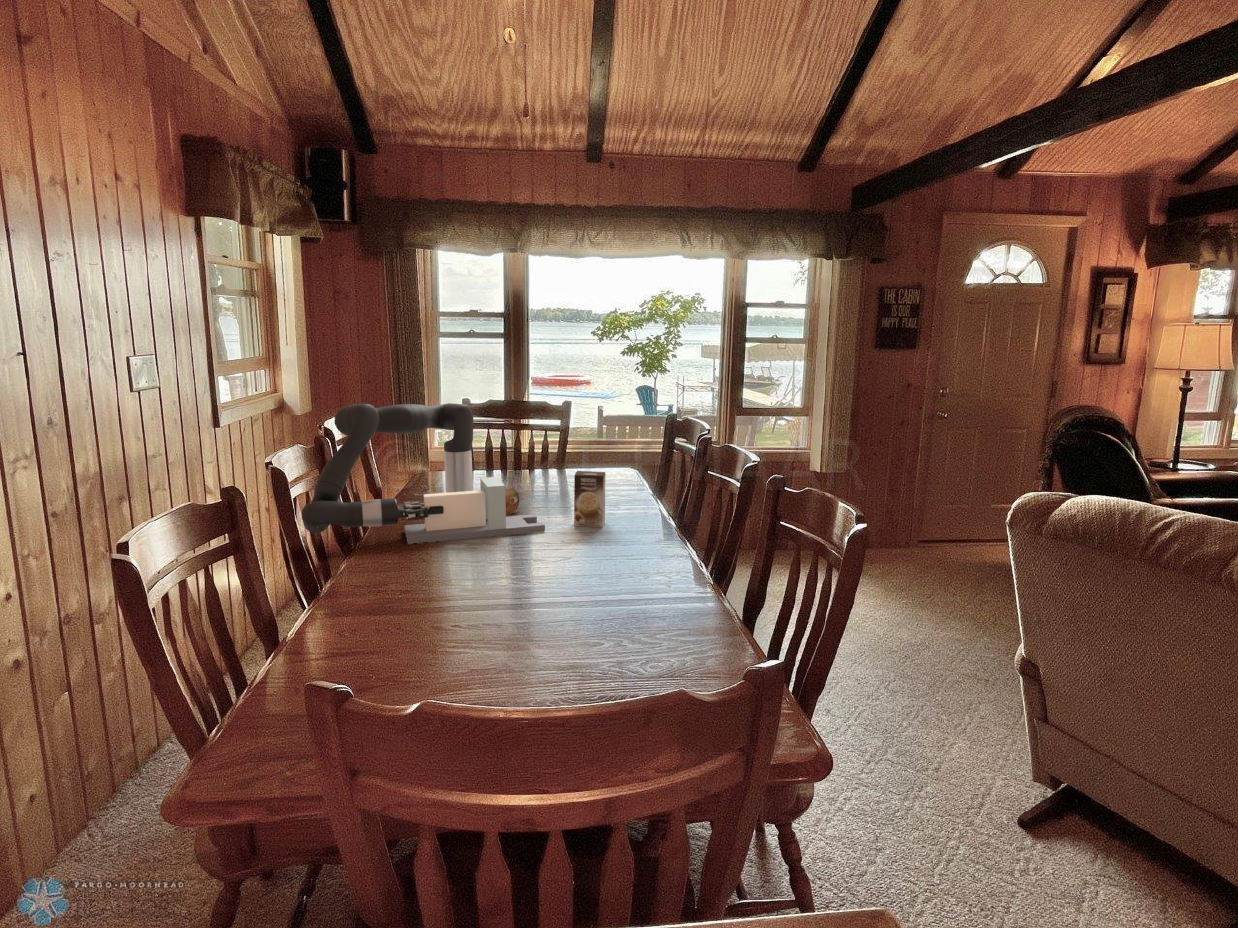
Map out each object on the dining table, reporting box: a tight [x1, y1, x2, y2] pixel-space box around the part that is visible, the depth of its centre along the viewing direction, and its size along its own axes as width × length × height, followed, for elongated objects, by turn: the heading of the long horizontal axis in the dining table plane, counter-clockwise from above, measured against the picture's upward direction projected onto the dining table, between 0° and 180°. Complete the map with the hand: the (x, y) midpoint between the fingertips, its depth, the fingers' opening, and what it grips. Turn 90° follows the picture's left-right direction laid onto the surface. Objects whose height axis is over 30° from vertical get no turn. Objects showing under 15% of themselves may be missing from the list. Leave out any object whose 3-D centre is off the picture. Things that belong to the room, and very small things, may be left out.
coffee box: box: [573, 470, 606, 528], centre depth 221 cm, size 9×6×16 cm
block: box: [423, 489, 486, 531], centre depth 210 cm, size 3×17×10 cm, turn 110°
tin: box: [505, 487, 520, 516], centre depth 231 cm, size 15×3×8 cm, turn 143°
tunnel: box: [479, 476, 507, 530], centre depth 214 cm, size 13×5×13 cm, turn 20°
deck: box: [403, 513, 546, 545], centre depth 213 cm, size 13×39×2 cm, turn 110°
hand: (442, 507), depth 209 cm, fingers closed on block, 3 cm apart
